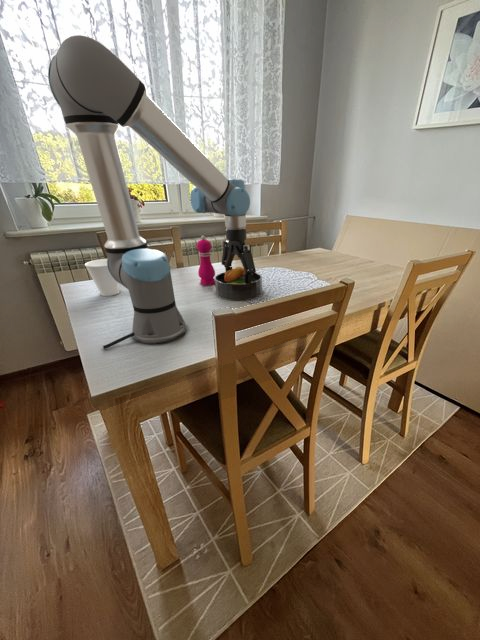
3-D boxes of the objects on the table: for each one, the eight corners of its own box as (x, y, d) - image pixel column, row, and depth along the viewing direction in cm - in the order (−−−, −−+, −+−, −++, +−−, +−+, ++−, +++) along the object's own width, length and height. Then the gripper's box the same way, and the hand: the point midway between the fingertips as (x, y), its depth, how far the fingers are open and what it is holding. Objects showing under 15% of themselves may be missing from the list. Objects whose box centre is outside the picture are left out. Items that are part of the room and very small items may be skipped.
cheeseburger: (251, 294, 112) (244, 268, 108) (226, 298, 115) (218, 274, 111) (256, 285, 121) (250, 261, 116) (233, 290, 124) (226, 267, 119)
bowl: (235, 304, 107) (234, 287, 104) (207, 292, 119) (205, 276, 116) (271, 293, 118) (271, 277, 115) (242, 282, 130) (241, 268, 127)
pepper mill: (208, 287, 125) (203, 237, 115) (196, 284, 128) (190, 236, 118) (219, 282, 130) (215, 235, 120) (207, 280, 133) (202, 233, 123)
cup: (87, 296, 116) (76, 265, 109) (108, 287, 125) (100, 257, 119) (111, 299, 113) (102, 267, 106) (132, 289, 122) (124, 259, 116)
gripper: (265, 230, 101) (265, 291, 112) (225, 223, 116) (228, 278, 127) (248, 233, 96) (250, 296, 108) (209, 225, 111) (214, 282, 123)
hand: (238, 286), depth 117 cm, fingers closed on cheeseburger, 11 cm apart
